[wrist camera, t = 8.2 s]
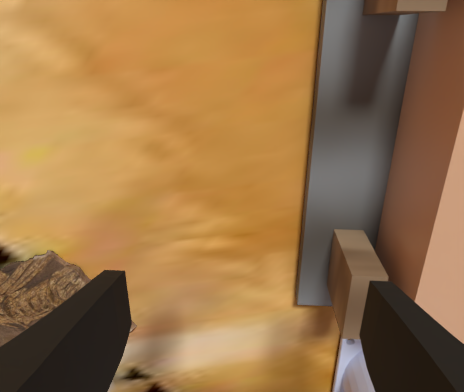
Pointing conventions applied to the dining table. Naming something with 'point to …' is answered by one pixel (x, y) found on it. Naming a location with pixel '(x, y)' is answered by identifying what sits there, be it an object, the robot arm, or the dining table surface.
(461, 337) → the clay strip
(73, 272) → the wooden fragment
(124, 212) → the dining table surface
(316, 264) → the grey panel
